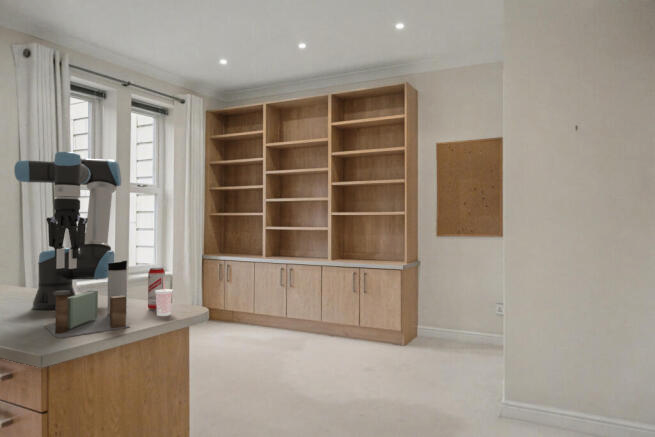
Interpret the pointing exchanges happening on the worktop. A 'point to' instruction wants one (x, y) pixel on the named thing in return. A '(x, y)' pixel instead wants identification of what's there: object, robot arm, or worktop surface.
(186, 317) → the worktop surface
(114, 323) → the stile
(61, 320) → the hinge post
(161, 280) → the beer can
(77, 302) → the gate
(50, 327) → the base mat
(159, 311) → the beverage cup
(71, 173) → the robot arm
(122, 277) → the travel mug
